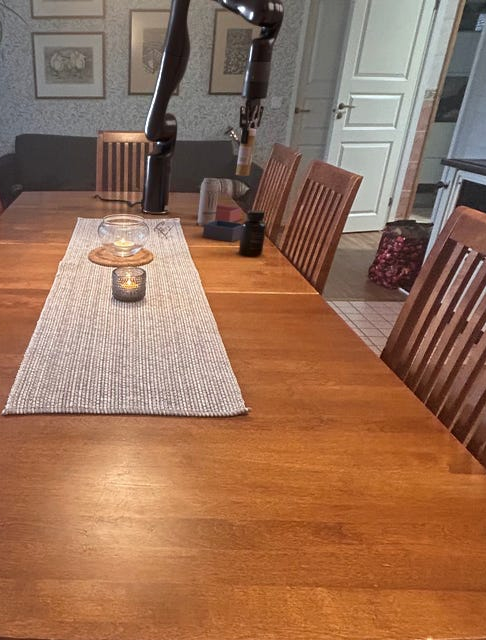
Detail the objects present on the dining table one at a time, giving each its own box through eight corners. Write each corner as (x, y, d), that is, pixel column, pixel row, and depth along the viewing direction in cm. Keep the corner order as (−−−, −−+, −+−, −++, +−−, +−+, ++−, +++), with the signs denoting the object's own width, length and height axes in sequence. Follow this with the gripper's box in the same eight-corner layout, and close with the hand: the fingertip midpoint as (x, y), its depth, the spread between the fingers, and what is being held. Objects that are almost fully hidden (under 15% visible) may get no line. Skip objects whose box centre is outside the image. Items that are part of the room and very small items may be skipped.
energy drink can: (202, 227, 207) (207, 180, 199) (194, 223, 212) (199, 177, 204) (217, 226, 209) (223, 179, 201) (208, 222, 214) (214, 177, 206)
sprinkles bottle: (252, 175, 193) (259, 129, 186) (243, 176, 190) (251, 129, 183) (240, 174, 196) (247, 127, 189) (232, 174, 193) (239, 127, 186)
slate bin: (202, 237, 193) (204, 224, 191) (215, 232, 201) (217, 219, 198) (231, 241, 189) (233, 228, 186) (243, 236, 196) (245, 224, 194)
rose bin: (203, 219, 219) (204, 207, 217) (215, 215, 227) (216, 204, 224) (229, 223, 215) (230, 211, 212) (239, 219, 222) (241, 208, 220)
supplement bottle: (263, 253, 177) (271, 210, 170) (258, 258, 171) (265, 214, 165) (241, 250, 179) (247, 208, 173) (235, 255, 174) (241, 211, 167)
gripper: (253, 80, 186) (244, 141, 195) (235, 78, 176) (226, 143, 185) (276, 81, 183) (266, 143, 192) (259, 80, 172) (249, 145, 181)
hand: (247, 143), depth 188 cm, fingers closed on sprinkles bottle, 4 cm apart
